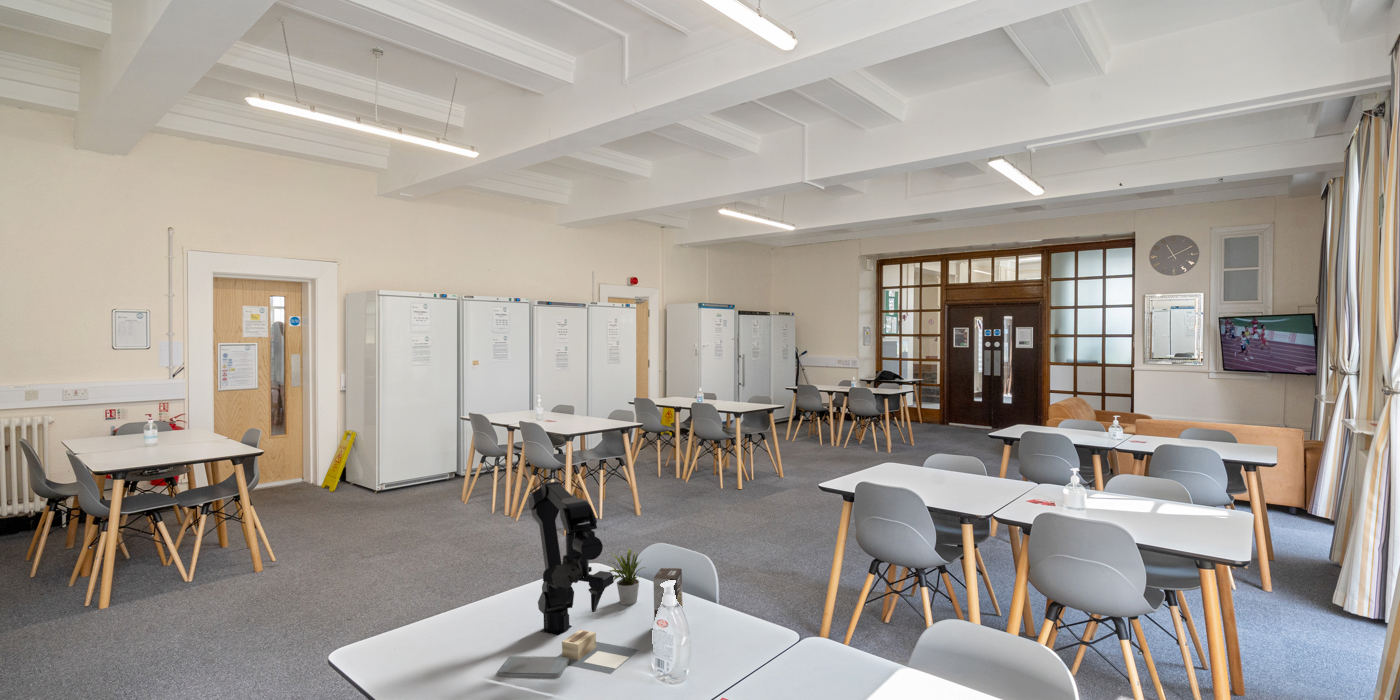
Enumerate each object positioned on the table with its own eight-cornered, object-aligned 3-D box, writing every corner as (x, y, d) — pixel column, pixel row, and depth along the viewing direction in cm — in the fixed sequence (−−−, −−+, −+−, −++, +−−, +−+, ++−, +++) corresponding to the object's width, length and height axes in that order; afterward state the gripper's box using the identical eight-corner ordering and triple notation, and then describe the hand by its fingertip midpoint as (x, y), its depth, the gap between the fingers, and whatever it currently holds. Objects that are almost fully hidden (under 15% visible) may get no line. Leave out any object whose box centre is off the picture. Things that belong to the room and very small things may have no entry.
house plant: (605, 593, 220) (603, 543, 219) (647, 590, 221) (646, 541, 221) (603, 610, 205) (602, 557, 205) (649, 607, 207) (647, 554, 207)
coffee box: (676, 637, 185) (675, 578, 185) (654, 636, 186) (652, 577, 186) (684, 624, 194) (682, 567, 194) (662, 622, 195) (660, 567, 195)
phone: (509, 660, 173) (509, 655, 173) (570, 661, 171) (569, 656, 171) (496, 677, 165) (496, 672, 165) (559, 678, 163) (559, 673, 163)
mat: (550, 663, 172) (550, 661, 172) (582, 640, 184) (582, 638, 184) (610, 675, 164) (610, 673, 164) (639, 651, 177) (639, 649, 177)
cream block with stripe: (578, 660, 172) (578, 644, 172) (562, 657, 174) (561, 641, 174) (596, 647, 179) (595, 631, 179) (580, 644, 181) (580, 629, 181)
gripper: (528, 555, 173) (530, 616, 173) (589, 563, 165) (591, 626, 165) (554, 543, 183) (556, 600, 183) (614, 550, 175) (615, 610, 175)
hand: (578, 609), depth 176 cm, fingers open, 9 cm apart
